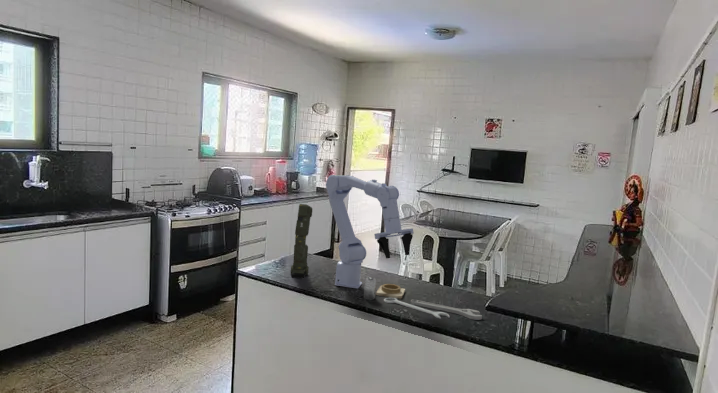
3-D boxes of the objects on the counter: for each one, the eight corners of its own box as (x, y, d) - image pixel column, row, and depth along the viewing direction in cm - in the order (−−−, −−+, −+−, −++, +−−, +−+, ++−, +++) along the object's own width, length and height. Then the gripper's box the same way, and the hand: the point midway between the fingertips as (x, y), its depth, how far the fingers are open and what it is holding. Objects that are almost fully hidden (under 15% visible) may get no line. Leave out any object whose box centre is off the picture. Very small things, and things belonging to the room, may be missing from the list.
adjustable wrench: (409, 305, 164) (409, 300, 164) (415, 300, 169) (416, 295, 169) (479, 322, 152) (479, 316, 152) (483, 316, 158) (484, 311, 158)
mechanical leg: (305, 278, 180) (312, 203, 184) (287, 277, 180) (294, 201, 185) (309, 277, 194) (315, 207, 198) (292, 276, 194) (299, 205, 198)
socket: (375, 295, 170) (376, 288, 170) (380, 287, 180) (381, 281, 179) (401, 298, 168) (402, 292, 168) (404, 291, 178) (405, 285, 177)
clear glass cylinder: (362, 298, 165) (364, 278, 164) (364, 295, 169) (366, 275, 168) (373, 300, 164) (375, 279, 164) (375, 296, 168) (377, 277, 167)
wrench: (445, 323, 150) (451, 318, 155) (445, 318, 150) (452, 314, 154) (380, 302, 164) (388, 298, 169) (381, 297, 164) (388, 294, 168)
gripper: (377, 220, 159) (383, 259, 157) (414, 215, 164) (421, 253, 163) (370, 222, 165) (376, 259, 164) (405, 217, 171) (411, 254, 169)
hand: (397, 256), depth 164 cm, fingers open, 7 cm apart
